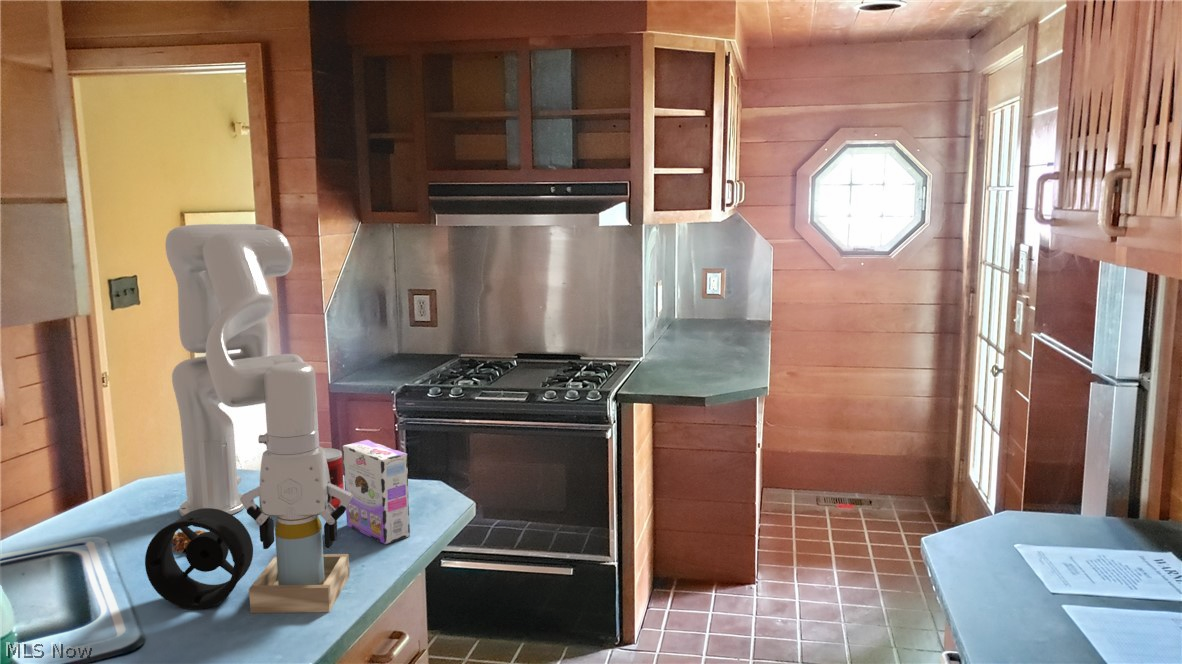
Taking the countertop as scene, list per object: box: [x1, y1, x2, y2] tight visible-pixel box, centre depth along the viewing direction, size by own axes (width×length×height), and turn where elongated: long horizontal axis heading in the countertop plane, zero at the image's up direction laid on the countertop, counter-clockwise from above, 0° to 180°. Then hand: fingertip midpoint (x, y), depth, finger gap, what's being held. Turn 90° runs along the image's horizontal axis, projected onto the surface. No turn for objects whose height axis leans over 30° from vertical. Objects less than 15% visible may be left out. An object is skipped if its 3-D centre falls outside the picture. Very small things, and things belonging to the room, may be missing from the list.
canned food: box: [323, 447, 345, 509], centre depth 169 cm, size 8×8×11 cm
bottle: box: [274, 506, 325, 585], centre depth 130 cm, size 7×7×15 cm
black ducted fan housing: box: [144, 508, 254, 610], centre depth 130 cm, size 14×14×10 cm
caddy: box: [248, 553, 350, 614], centre depth 131 cm, size 12×12×4 cm
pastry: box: [172, 530, 211, 554], centre depth 150 cm, size 7×12×4 cm, turn 63°
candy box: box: [342, 439, 411, 545], centre depth 155 cm, size 14×6×16 cm, turn 47°
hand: (299, 545), depth 130 cm, fingers open, 9 cm apart
